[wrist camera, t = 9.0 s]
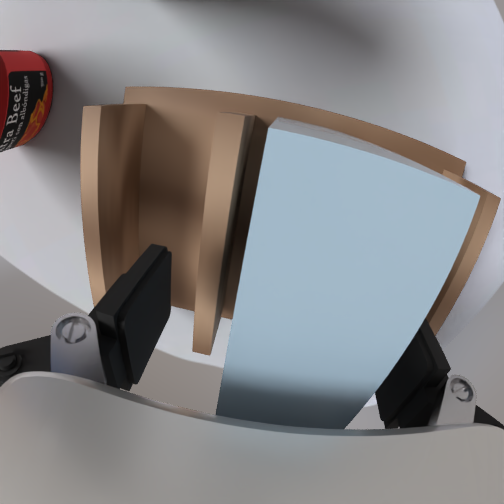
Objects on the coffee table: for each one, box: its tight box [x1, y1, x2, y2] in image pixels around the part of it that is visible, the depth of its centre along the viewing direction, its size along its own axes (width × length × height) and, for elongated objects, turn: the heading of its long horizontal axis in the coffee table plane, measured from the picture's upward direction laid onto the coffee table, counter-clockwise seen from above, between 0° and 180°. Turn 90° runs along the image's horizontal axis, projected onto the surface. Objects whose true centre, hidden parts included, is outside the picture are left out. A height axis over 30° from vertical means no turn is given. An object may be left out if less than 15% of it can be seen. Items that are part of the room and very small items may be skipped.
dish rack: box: [80, 87, 501, 355], centre depth 15 cm, size 14×20×6 cm
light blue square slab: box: [216, 117, 480, 429], centre depth 11 cm, size 12×3×12 cm, turn 170°
